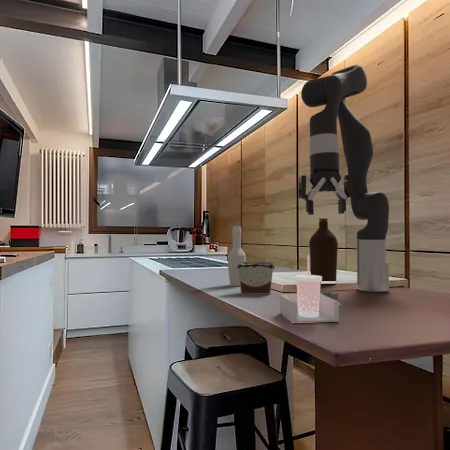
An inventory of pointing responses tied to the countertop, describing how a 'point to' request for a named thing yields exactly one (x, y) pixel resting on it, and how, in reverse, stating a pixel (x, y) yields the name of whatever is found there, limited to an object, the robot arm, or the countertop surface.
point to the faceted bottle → (235, 257)
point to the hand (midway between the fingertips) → (326, 214)
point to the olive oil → (323, 252)
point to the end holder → (326, 314)
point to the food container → (255, 277)
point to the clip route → (331, 296)
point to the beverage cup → (308, 293)
